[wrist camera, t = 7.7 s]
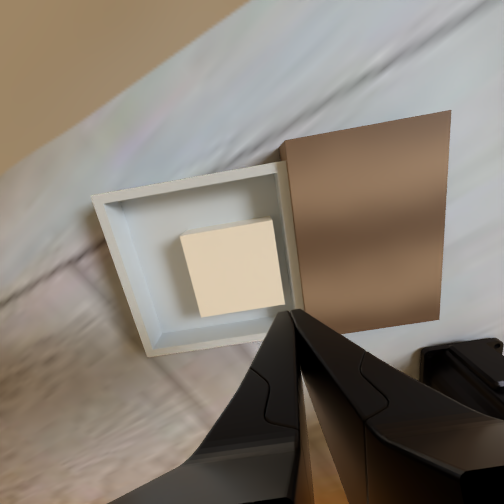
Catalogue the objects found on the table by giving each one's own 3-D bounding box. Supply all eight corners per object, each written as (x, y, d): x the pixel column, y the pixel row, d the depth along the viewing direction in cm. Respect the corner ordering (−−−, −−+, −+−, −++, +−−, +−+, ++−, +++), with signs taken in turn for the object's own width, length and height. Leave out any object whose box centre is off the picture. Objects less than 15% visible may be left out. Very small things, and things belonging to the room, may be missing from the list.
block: (281, 291, 19) (284, 304, 17) (206, 303, 19) (201, 317, 17) (269, 215, 17) (272, 220, 15) (187, 229, 17) (179, 236, 16)
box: (300, 316, 20) (307, 333, 18) (158, 337, 21) (147, 357, 18) (280, 162, 17) (285, 160, 14) (111, 193, 17) (90, 195, 15)
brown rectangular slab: (411, 299, 20) (439, 319, 17) (300, 316, 20) (308, 338, 17) (415, 122, 16) (451, 110, 13) (278, 147, 16) (284, 140, 13)
